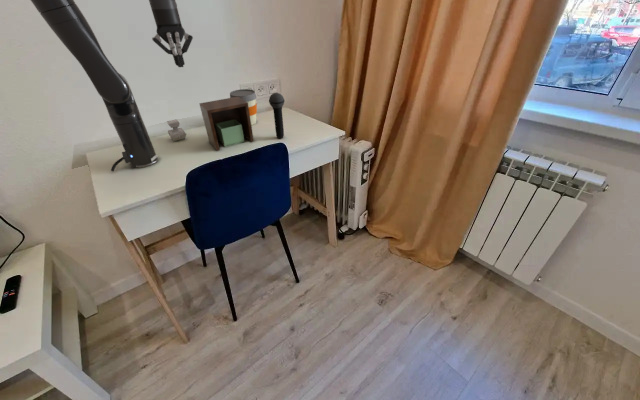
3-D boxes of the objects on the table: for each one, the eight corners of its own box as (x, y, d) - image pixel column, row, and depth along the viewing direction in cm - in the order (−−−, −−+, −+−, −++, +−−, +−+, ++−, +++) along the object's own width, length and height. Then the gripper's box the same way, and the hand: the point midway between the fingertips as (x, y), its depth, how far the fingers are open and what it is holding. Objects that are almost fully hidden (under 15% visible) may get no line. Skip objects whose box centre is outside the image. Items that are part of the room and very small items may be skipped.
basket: (225, 146, 122) (221, 129, 117) (219, 140, 127) (215, 123, 122) (244, 141, 126) (241, 124, 121) (238, 135, 131) (234, 119, 126)
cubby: (216, 150, 119) (206, 110, 108) (209, 141, 126) (199, 103, 116) (253, 141, 126) (247, 102, 116) (244, 133, 134) (238, 96, 123)
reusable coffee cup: (248, 128, 138) (243, 97, 129) (229, 124, 143) (223, 93, 134) (264, 120, 147) (260, 91, 138) (246, 116, 152) (242, 87, 143)
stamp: (188, 140, 127) (183, 122, 122) (173, 144, 124) (166, 125, 119) (184, 133, 133) (178, 116, 128) (169, 137, 131) (163, 119, 126)
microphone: (276, 141, 126) (271, 96, 114) (271, 136, 130) (265, 92, 118) (289, 138, 128) (286, 93, 116) (284, 133, 133) (280, 90, 121)
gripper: (183, 6, 94) (197, 62, 104) (139, 7, 88) (158, 67, 98) (188, 7, 89) (202, 66, 99) (142, 8, 83) (162, 71, 93)
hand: (180, 66), depth 99 cm, fingers closed
